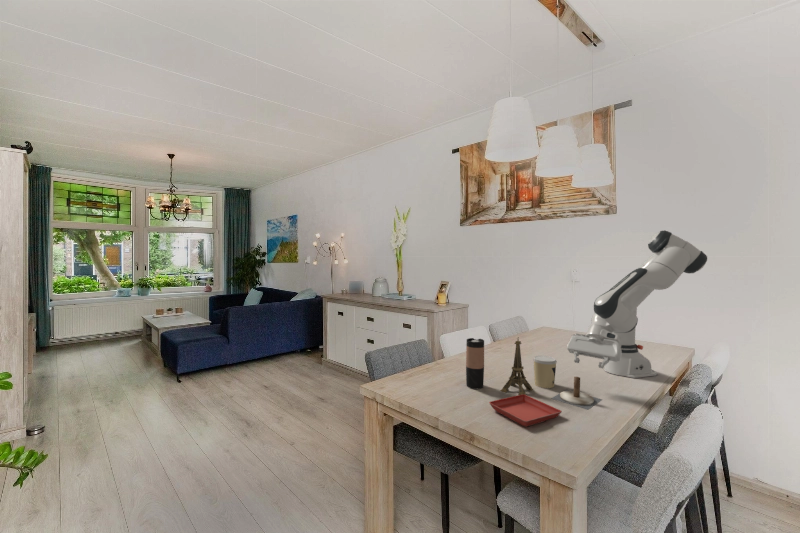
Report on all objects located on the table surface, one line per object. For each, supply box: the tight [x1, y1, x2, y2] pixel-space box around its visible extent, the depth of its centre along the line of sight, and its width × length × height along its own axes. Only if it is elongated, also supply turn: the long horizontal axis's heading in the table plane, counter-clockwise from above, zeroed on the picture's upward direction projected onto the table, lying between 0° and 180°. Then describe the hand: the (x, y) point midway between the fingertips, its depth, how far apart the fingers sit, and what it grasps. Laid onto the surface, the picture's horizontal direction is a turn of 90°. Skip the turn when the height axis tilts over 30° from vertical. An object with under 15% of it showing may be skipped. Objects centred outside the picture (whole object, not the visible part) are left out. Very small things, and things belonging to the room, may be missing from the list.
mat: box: [550, 389, 603, 411], centre depth 149 cm, size 14×14×1 cm
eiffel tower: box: [499, 338, 534, 395], centre depth 158 cm, size 11×11×25 cm
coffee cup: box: [533, 355, 558, 389], centre depth 164 cm, size 9×9×12 cm
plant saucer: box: [488, 393, 563, 428], centre depth 136 cm, size 18×18×3 cm
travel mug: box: [465, 337, 485, 390], centre depth 163 cm, size 8×8×20 cm
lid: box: [559, 376, 594, 405], centre depth 148 cm, size 12×12×8 cm
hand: (588, 364), depth 153 cm, fingers open, 8 cm apart
